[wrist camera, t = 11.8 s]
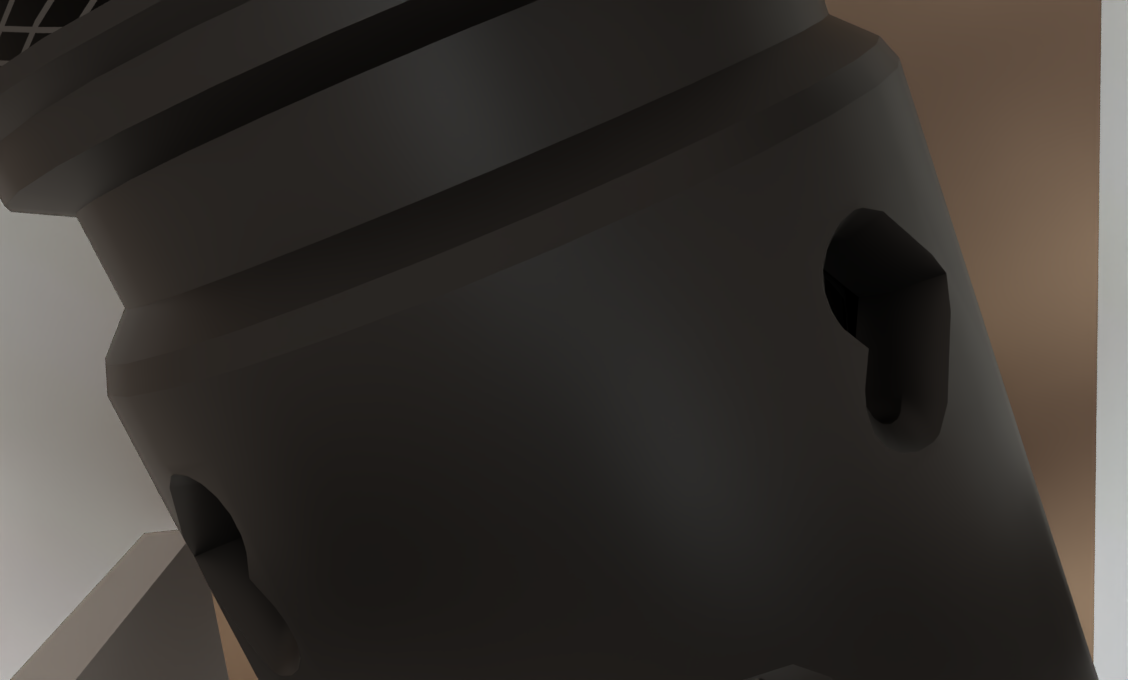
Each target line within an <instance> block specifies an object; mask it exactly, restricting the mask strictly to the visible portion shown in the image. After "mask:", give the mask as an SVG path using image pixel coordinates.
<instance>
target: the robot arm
mask: <svg viewBox="0 0 1128 680" xmlns="http://www.w3.org/2000/svg"><path fill="white" fill-rule="evenodd" d="M10 680H229V677H228V672H227V667H226V663H225V658H224V653H223V648H222V643H221V638H220V633H219V628H218V623H217V618H216V613H215V608H214V603H213V598H212V593H211V590H210V588H209V586H208V584H207V582H206V580H205V578H204V576H203V573H202V571H201V569H200V567H199V565H198V563H197V561H196V559H195V557H194V555H193V554H192V552H191V550H190V549H189V547H188V545H187V544H186V542H185V541H184V539H183V537H182V535H181V533H180V531H179V530H171V531H162V532H152V533H144V534H143V535H142V536H141V538H140V539H139V540H138V541H137V542H136V543H135V544H134V545H133V546H132V547H131V548H130V550H129V551H128V552H127V553H126V554H125V555H124V556H123V557H122V558H121V559H120V560H119V562H118V563H117V564H116V565H115V566H114V567H113V568H112V569H111V570H110V571H109V572H108V574H107V575H106V576H105V577H104V578H103V579H102V580H101V581H100V582H99V583H98V584H97V586H96V587H95V588H94V589H93V590H92V591H91V592H90V593H89V594H88V595H87V596H86V598H85V599H84V600H83V601H82V602H81V603H80V604H79V605H78V606H77V607H76V608H75V610H74V611H73V612H72V613H71V614H70V615H69V616H68V617H67V618H66V619H65V620H64V622H63V623H62V624H61V625H60V626H59V627H58V628H57V629H56V630H55V631H54V632H53V634H52V635H51V636H50V637H49V638H48V639H47V640H46V641H45V642H44V643H43V644H42V646H41V647H40V648H39V649H38V650H37V651H36V652H35V653H34V654H33V655H32V656H31V658H30V659H29V660H28V661H27V662H26V663H25V664H24V665H23V666H22V667H21V668H20V670H19V671H18V672H17V673H16V674H15V675H14V676H13V677H12V678H11V679H10Z"/></svg>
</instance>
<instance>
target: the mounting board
mask: <svg viewBox="0 0 1128 680" xmlns="http://www.w3.org/2000/svg"><path fill="white" fill-rule="evenodd" d="M825 3H826V6H827V10H828V13H829V14H830V15H832V16H835V17H837V18H839V19H842V20H844V21H846V22H849V23H851V24H853V25H855V26H858V27H860V28H862V29H865V30H867V31H869V32H872V33H874V34H876V35H879V36H880V37H881V38H882V39H883V40H884V41H885V42H886V43H887V45H888V46H889V47H890V48H891V49H892V50H893V51H894V52H895V53H896V54H897V56H898V57H899V58H900V61H901V64H902V68H903V71H904V74H905V77H906V80H907V83H908V86H909V89H910V93H911V96H912V99H913V102H914V105H915V108H916V111H917V114H918V117H919V121H920V124H921V127H922V130H923V133H924V136H925V139H926V142H927V146H928V149H929V152H930V155H931V158H932V161H933V164H934V167H935V171H936V174H937V177H938V180H939V183H940V186H941V189H942V192H943V196H944V199H945V202H946V205H947V208H948V211H949V214H950V217H951V221H952V224H953V227H954V230H955V233H956V236H957V239H958V242H959V246H960V249H961V252H962V255H963V258H964V261H965V264H966V267H967V271H968V274H969V277H970V280H971V283H972V286H973V289H974V292H975V296H976V299H977V302H978V305H979V308H980V311H981V314H982V317H983V321H984V324H985V327H986V330H987V333H988V336H989V339H990V342H991V346H992V349H993V352H994V355H995V358H996V361H997V364H998V367H999V370H1000V374H1001V377H1002V380H1003V383H1004V386H1005V389H1006V392H1007V395H1008V399H1009V402H1010V405H1011V408H1012V411H1013V414H1014V417H1015V420H1016V424H1017V427H1018V430H1019V433H1020V436H1021V439H1022V442H1023V445H1024V449H1025V452H1026V455H1027V458H1028V461H1029V464H1030V467H1031V470H1032V474H1033V477H1034V480H1035V483H1036V486H1037V489H1038V492H1039V495H1040V499H1041V502H1042V505H1043V508H1044V511H1045V514H1046V517H1047V520H1048V524H1049V527H1050V530H1051V533H1052V536H1053V539H1054V542H1055V545H1056V549H1057V552H1058V555H1059V558H1060V561H1061V564H1062V567H1063V570H1064V574H1065V577H1066V580H1067V583H1068V586H1069V589H1070V592H1071V595H1072V599H1073V602H1074V605H1075V608H1076V611H1077V614H1078V617H1079V620H1080V623H1081V627H1082V630H1083V633H1084V636H1085V639H1086V642H1087V645H1088V648H1089V652H1090V655H1091V658H1092V661H1093V645H1094V563H1095V481H1096V399H1097V317H1098V235H1099V153H1100V71H1101V0H825ZM211 593H212V592H211ZM212 598H213V603H214V608H215V613H216V618H217V623H218V628H219V633H220V638H221V643H222V648H223V653H224V658H225V663H226V667H227V672H228V677H229V680H258V678H257V676H256V674H255V673H254V671H253V669H252V667H251V665H250V663H249V661H248V659H247V657H246V656H245V654H244V652H243V650H242V648H241V646H240V644H239V642H238V641H237V639H236V637H235V635H234V633H233V631H232V629H231V627H230V625H229V624H228V622H227V620H226V618H225V616H224V614H223V612H222V610H221V609H220V607H219V605H218V603H217V601H216V599H215V597H214V595H213V593H212Z"/></svg>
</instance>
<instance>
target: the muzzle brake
mask: <svg viewBox="0 0 1128 680" xmlns="http://www.w3.org/2000/svg"><path fill="white" fill-rule="evenodd" d="M0 199H1V201H2V202H3V204H4V206H5V207H6V208H7V209H8V210H10V211H11V212H19V213H31V214H43V215H56V216H68V217H77V219H78V221H79V222H80V224H81V226H82V228H83V230H84V232H85V234H86V236H87V237H88V239H89V241H90V243H91V245H92V247H93V249H94V251H95V253H96V254H97V256H98V258H99V260H100V262H101V264H102V266H103V268H104V269H105V271H106V273H107V275H108V277H109V279H110V281H111V283H112V284H113V286H114V288H115V290H116V292H117V294H118V296H119V298H120V300H121V301H122V303H123V305H124V307H125V309H124V312H123V314H122V317H121V319H120V322H119V325H118V327H117V330H116V332H115V335H114V337H113V340H112V343H111V345H110V348H109V350H108V353H107V356H106V358H105V360H106V377H107V394H108V398H109V400H110V401H111V403H112V405H113V407H114V409H115V411H116V413H117V415H118V417H119V418H120V420H121V422H122V424H123V426H124V428H125V430H126V432H127V433H128V435H129V437H130V439H131V441H132V443H133V445H134V447H135V449H136V450H137V452H138V454H139V456H140V458H141V460H142V462H143V464H144V465H145V467H146V469H147V471H148V473H149V475H150V477H151V479H152V481H153V482H154V484H155V486H156V488H157V490H158V492H159V494H160V496H161V497H162V499H163V501H164V503H165V505H166V507H167V509H168V511H169V513H170V514H171V516H172V518H173V520H174V522H175V524H176V526H177V528H178V529H179V531H180V533H181V535H182V537H183V539H184V541H185V542H186V544H187V545H188V547H189V549H190V550H191V552H192V554H193V555H194V557H195V559H196V561H197V563H198V565H199V567H200V569H201V571H202V573H203V576H204V578H205V580H206V582H207V584H208V586H209V588H210V590H211V592H212V593H213V595H214V597H215V599H216V601H217V603H218V605H219V607H220V609H221V610H222V612H223V614H224V616H225V618H226V620H227V622H228V624H229V625H230V627H231V629H232V631H233V633H234V635H235V637H236V639H237V641H238V642H239V644H240V646H241V648H242V650H243V652H244V654H245V656H246V657H247V659H248V661H249V663H250V665H251V667H252V669H253V671H254V673H255V674H256V676H257V678H258V680H1098V677H1097V673H1096V670H1095V667H1094V664H1093V661H1092V658H1091V655H1090V652H1089V648H1088V645H1087V642H1086V639H1085V636H1084V633H1083V630H1082V627H1081V623H1080V620H1079V617H1078V614H1077V611H1076V608H1075V605H1074V602H1073V599H1072V595H1071V592H1070V589H1069V586H1068V583H1067V580H1066V577H1065V574H1064V570H1063V567H1062V564H1061V561H1060V558H1059V555H1058V552H1057V549H1056V545H1055V542H1054V539H1053V536H1052V533H1051V530H1050V527H1049V524H1048V520H1047V517H1046V514H1045V511H1044V508H1043V505H1042V502H1041V499H1040V495H1039V492H1038V489H1037V486H1036V483H1035V480H1034V477H1033V474H1032V470H1031V467H1030V464H1029V461H1028V458H1027V455H1026V452H1025V449H1024V445H1023V442H1022V439H1021V436H1020V433H1019V430H1018V427H1017V424H1016V420H1015V417H1014V414H1013V411H1012V408H1011V405H1010V402H1009V399H1008V395H1007V392H1006V389H1005V386H1004V383H1003V380H1002V377H1001V374H1000V370H999V367H998V364H997V361H996V358H995V355H994V352H993V349H992V346H991V342H990V339H989V336H988V333H987V330H986V327H985V324H984V321H983V317H982V314H981V311H980V308H979V305H978V302H977V299H976V296H975V292H974V289H973V286H972V283H971V280H970V277H969V274H968V271H967V267H966V264H965V261H964V258H963V255H962V252H961V249H960V246H959V242H958V239H957V236H956V233H955V230H954V227H953V224H952V221H951V217H950V214H949V211H948V208H947V205H946V202H945V199H944V196H943V192H942V189H941V186H940V183H939V180H938V177H937V174H936V171H935V167H934V164H933V161H932V158H931V155H930V152H929V149H928V146H927V142H926V139H925V136H924V133H923V130H922V127H921V124H920V121H919V117H918V114H917V111H916V108H915V105H914V102H913V99H912V96H911V93H910V89H909V86H908V83H907V80H906V77H905V74H904V71H903V68H902V64H901V61H900V58H899V57H898V56H897V54H896V53H895V52H894V51H893V50H892V49H891V48H890V47H889V46H888V45H887V43H886V42H885V41H884V40H883V39H882V38H881V37H880V36H879V35H876V34H874V33H872V32H869V31H867V30H865V29H862V28H860V27H858V26H855V25H853V24H851V23H849V22H846V21H844V20H842V19H839V18H837V17H835V16H832V15H830V14H829V13H828V10H827V6H826V3H825V0H0Z"/></svg>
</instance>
